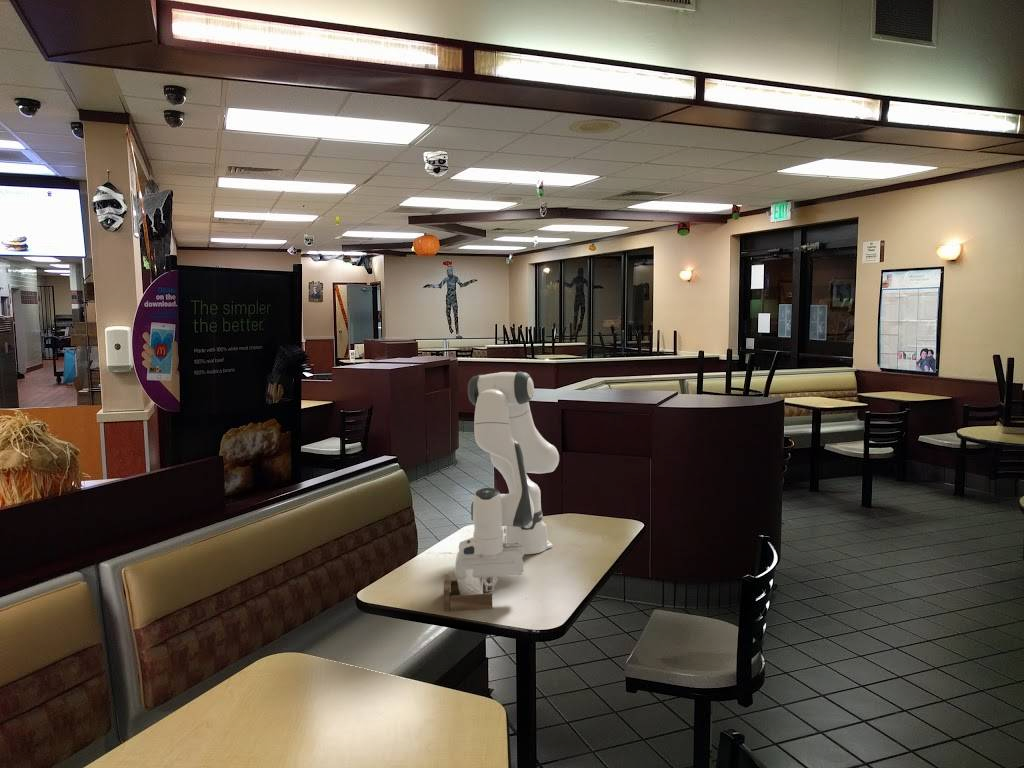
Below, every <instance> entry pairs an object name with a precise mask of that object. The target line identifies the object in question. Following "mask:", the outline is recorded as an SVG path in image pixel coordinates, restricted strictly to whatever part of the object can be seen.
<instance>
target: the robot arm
mask: <svg viewBox="0 0 1024 768" xmlns="http://www.w3.org/2000/svg"><path fill="white" fill-rule="evenodd" d="M534 386H535V385H534V381H533V378H532V376H531V375H530V374H529V373H528V372H523V371H517V372H515V371H514V372H513V371H501V372H500V371H499V372H494V373H486V374H477V375H474V376H472V377H471V378H470V380H469V381H468V384H467V396H468V399H469V402H471V405H473V406H474V407H475V410H474V418H473V419H474V421H473V424H474V425H473V429H474V430H473V434H474V439H475V443H476V444H477V446H478V447H479V448H480V449H481V450H483V451H484V452H486V453H488V454H489V456H490V461H491V464H492V466H493V467H494V468H495V469H497V470H498V472H499V473H500V474H501V475H502V477H503V479H504V480H505V482H506V485H507V488H508V493H500V491H499V490H498V489H497V488H494V487H483V488H480V489H477V491H475V493H474V496H473V501H472V502H471V505H470V509H471V510H470V511H471V512H470V514H471V515H470V516H471V518H470V519H471V521H472V523H473V526H474V527H473V529H474V530H473V535H472V537H470V538H467V539H464V540H462V541H460V542H459V544H458V552H457V553H456V557H455V564H454V575H455V577H456V579H457V578H458V579H461V578H466V577H467V575H466V571H465V570H469V569H473V574H472V576H473V577H474V578H478V577H482V581H483V583H484V584H485V586H486V591H490V592H494V591H495V586H496V584H497V582H498V580H499V579H498V578H499V577H508V576H509V577H511V576H522V575H523V573H524V572H525V569H524V561H523V557H524V555H534V554H539V553H542V552H544V551H546V550H547V549H551V548H553V543H552V542H550V541H549V539H548V528H547V524H546V523H545V522H544V521H543V510H542V503H541V500H542V499H541V489H540V487H539V486H538V484H537V483H535V482H534V481H532V480H531V479H530V478H529V476H528V474H527V473H529V474H539V475H540V474H546V473H547V474H548V473H552V472H554V471H555V470H556V469H557V467H558V465H559V462H560V454H559V451H558V449H557V448H556V446H555V445H554V444H551V443H550V442H549V441H547V440H546V439H545V438H544V437H543V436H542V434H541V433H540V432H539V430H538V429H537V428H536V426H535V423H534V419H533V415H532V412H531V407H530V401H531V400H532V399H533V397H534V392H535V391H534V390H535V387H534ZM504 534H505V535H504ZM490 577H492V582H490V583H489V584H488V583H487V582H486V580H487V578H490Z"/></svg>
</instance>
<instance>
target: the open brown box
mask: <svg viewBox="0 0 1024 768" xmlns="http://www.w3.org/2000/svg"><path fill="white" fill-rule="evenodd" d="M443 575H444V576H443V607H444V609H443V611H444V612H450V611H451V610H454V611H467V610H468V611H469V610H486V609H493V606H494V605H493V593H491V591H486V586H485V584H484V583H483V588H482V589H483V594H473V595H460V592H459V588H458V582H457V579H450V578H451V577H450V573H444V574H443ZM486 582H487V583H488V584H489V583H491V578H490V577H487V580H486ZM489 592H490V593H489ZM457 594H459V595H457Z"/></svg>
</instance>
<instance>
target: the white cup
mask: <svg viewBox="0 0 1024 768" xmlns="http://www.w3.org/2000/svg"><path fill="white" fill-rule="evenodd" d="M465 571H466V575H467V577H466V578H461V579H458V578H457V577H456V580H457V582H458V588H459V592H460V594H459V595H473V594H484V592H483V589H482V588H483V581H482V577H478V578H474V577H473V576H472V574H473V569H469V570H465Z"/></svg>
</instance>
